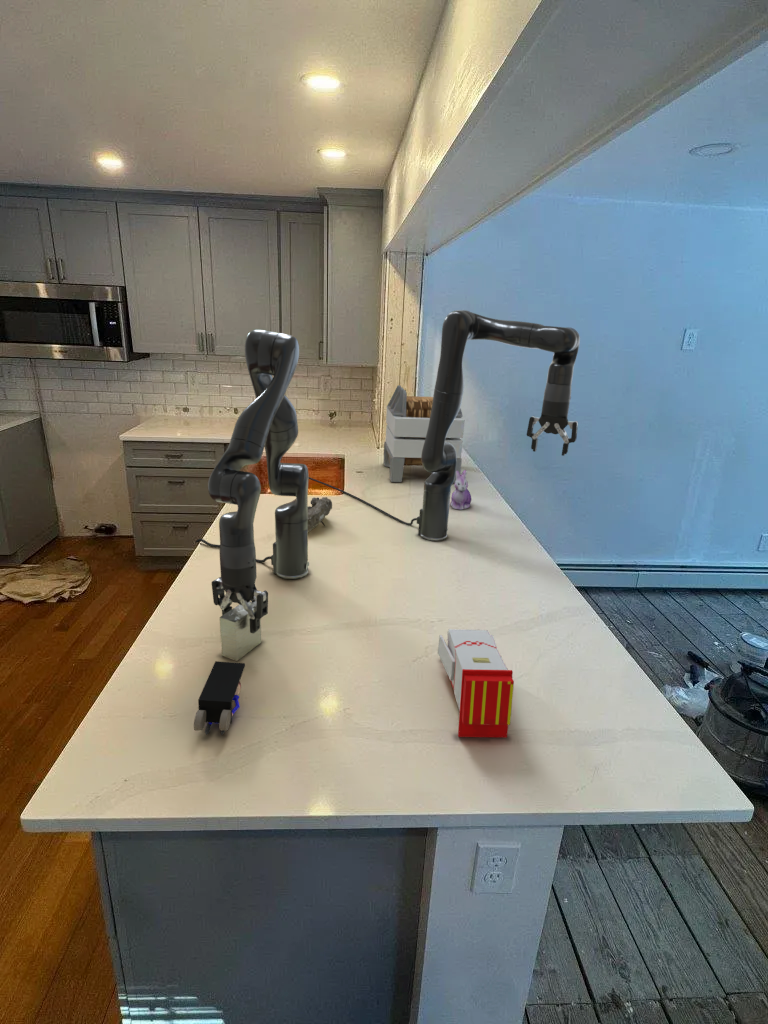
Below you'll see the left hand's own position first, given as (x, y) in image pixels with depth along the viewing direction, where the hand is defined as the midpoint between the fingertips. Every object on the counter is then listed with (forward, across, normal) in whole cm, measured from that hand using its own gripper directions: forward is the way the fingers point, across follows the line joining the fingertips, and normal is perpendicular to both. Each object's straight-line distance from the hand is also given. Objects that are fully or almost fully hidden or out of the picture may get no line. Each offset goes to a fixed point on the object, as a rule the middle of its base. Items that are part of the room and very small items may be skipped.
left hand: (241, 627), depth 128 cm
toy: (+6, +51, +11) cm, 52 cm away
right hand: (-30, +48, +85) cm, 102 cm away
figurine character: (+6, +11, -20) cm, 23 cm away
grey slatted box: (+5, -23, +160) cm, 162 cm away
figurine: (+6, +11, +124) cm, 124 cm away
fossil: (+6, -28, +74) cm, 79 cm away
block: (+6, 0, 0) cm, 6 cm away
